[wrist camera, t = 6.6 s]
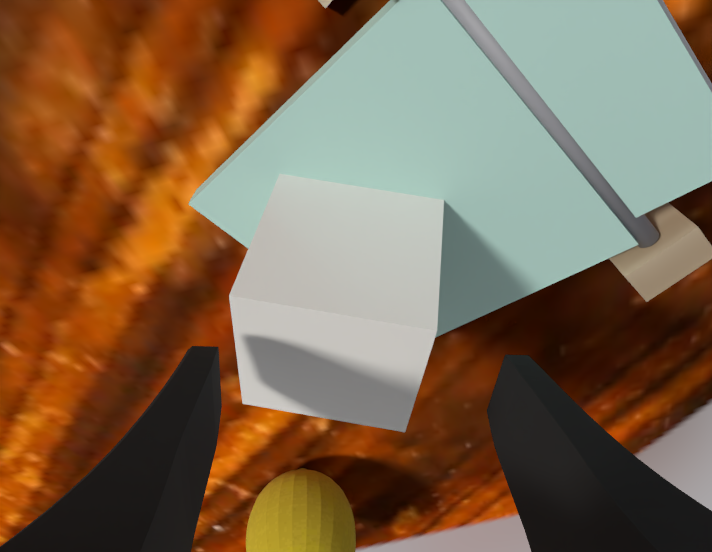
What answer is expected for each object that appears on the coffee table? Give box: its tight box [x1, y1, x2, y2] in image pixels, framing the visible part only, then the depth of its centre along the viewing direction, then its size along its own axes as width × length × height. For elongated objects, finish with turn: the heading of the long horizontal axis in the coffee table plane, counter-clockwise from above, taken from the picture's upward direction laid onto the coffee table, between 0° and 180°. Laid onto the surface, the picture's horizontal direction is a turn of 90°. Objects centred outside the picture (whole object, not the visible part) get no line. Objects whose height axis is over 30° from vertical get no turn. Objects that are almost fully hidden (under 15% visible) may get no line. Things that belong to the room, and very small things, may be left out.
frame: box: [318, 0, 712, 302], centre depth 16 cm, size 14×6×7 cm, turn 45°
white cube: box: [229, 174, 444, 432], centre depth 16 cm, size 5×5×5 cm
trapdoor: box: [189, 0, 712, 337], centre depth 17 cm, size 11×14×2 cm
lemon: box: [246, 468, 356, 552], centre depth 28 cm, size 6×6×8 cm
